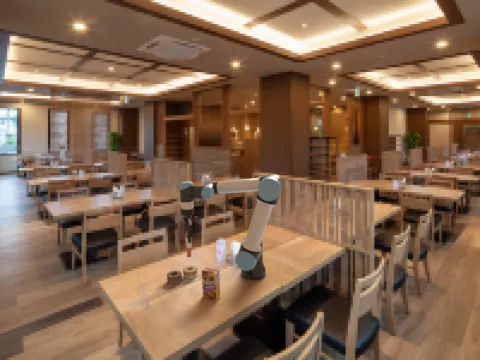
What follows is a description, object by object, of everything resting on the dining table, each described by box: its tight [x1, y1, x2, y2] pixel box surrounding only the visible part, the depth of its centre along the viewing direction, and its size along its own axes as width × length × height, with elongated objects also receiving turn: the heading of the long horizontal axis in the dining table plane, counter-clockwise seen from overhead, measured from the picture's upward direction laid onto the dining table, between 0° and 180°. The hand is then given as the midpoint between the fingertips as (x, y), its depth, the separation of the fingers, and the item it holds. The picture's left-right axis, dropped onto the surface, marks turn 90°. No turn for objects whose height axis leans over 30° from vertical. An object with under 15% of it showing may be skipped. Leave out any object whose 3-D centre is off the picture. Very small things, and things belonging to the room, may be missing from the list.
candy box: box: [201, 267, 221, 302], centre depth 154 cm, size 9×4×15 cm, turn 61°
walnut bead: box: [166, 270, 183, 286], centre depth 171 cm, size 8×8×5 cm
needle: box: [185, 230, 192, 258], centre depth 174 cm, size 3×3×16 cm
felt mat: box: [165, 274, 200, 287], centre depth 174 cm, size 18×10×1 cm, turn 114°
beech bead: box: [182, 265, 199, 280], centre depth 177 cm, size 8×8×5 cm
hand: (188, 246), depth 174 cm, fingers closed on needle, 2 cm apart
